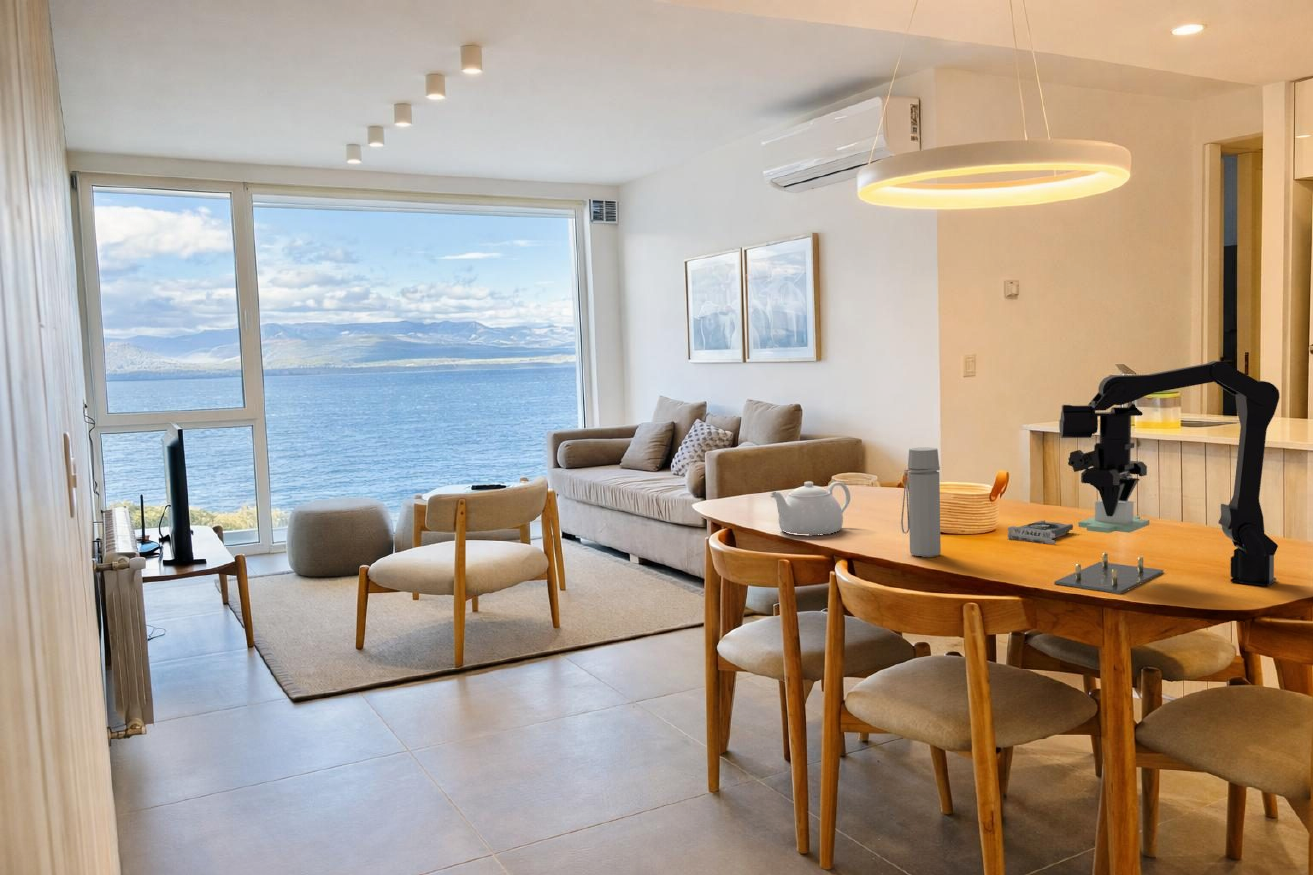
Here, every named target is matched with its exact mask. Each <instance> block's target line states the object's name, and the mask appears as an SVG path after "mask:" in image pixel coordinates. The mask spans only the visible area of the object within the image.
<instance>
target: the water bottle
mask: <svg viewBox="0 0 1313 875" xmlns="http://www.w3.org/2000/svg"><path fill="white" fill-rule="evenodd" d="M938 452H939V451H938V448H937V447H911V448H909V450H908V459H907V460H908V461H907V468H908V469H904V470H903V474H904V477H905V478H904V486H903V487H904V489H903V498H902V510H901V520H900V523H901V524H900V525H901V531H902V534H908V533H909V553H910V555H912V554H913V555H912V556H914V555H915V556H914V557H916V556H922V557H921V558H935V557H938V556H939V555H940V554H941V551H942V549H941V543H942V542H941V504H940V503H941V496H940V494H941V493H940V492H941V491H940V490H941V489H940V484H941V483H940V472H939V471H940V469H941V467H940V459H939V453H938ZM905 498H906V509H907V510H906V511H907V512H906V513H907V531H905V528H904V523H903V522H904V509H905ZM934 556H935V557H934Z"/></svg>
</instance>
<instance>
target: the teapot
mask: <svg viewBox="0 0 1313 875" xmlns="http://www.w3.org/2000/svg"><path fill="white" fill-rule="evenodd" d="M803 484H804V485H803V486H800V487H797V488H795V489H794V490H792V491H790V492H789V493H788V495H787V496H786V498H784V496H783V495H782V493H780V491H777V490H775V491H772V492H771V493H770V496H769V497H770V498H773V499H775V502H776V507H777V513H778V524H779V528H780V530H781V531H782V530H784V531H786V532H790V533H797V534H809V535H818V534H819V535H820V534H829V535H831V534H830V533H833V534H835V533H834V532H836V533H838V532H839V531H840V530H841V529H842V527H843V522H844V515H843V513H844V512H845V510H846V509H847V508H848V506H849V504H850V502H851V492H850V489H849V488H848V487H847V485H846V484H845V483H843V482H842V481H833V482H832V483H830V484H829V486H828V489H826V488H824V487H822V486H819V485H814V482H813V481H805V482H804V483H803ZM836 486H840V487H841V488H842V490H843V492H844V493H845V501H844V504H843V505H842V506H841V505H840V503H839V502H838V500H837V499H836V497H835V496H834V495H833V490H834V488H835V487H836ZM837 531H838V532H837Z"/></svg>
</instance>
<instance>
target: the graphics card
mask: <svg viewBox="0 0 1313 875" xmlns="http://www.w3.org/2000/svg"><path fill="white" fill-rule="evenodd" d="M1073 529H1074V525H1073V524H1072V523H1070V524H1064V523H1061V522H1054V521H1052V522H1051V521H1047V522H1046V520H1039V521H1035V522H1031V523H1027V524H1024V525H1021V526H1020V525H1019V526H1013V525H1012V526H1008V527H1007V540H1010V539H1012V540H1017V541H1023V542H1033V543H1037V544H1047V545H1048V544H1049V545H1055V544H1056V541H1055V540H1053V539H1055V538H1059V537H1063V536H1065V535H1066V534H1067V533H1070V531H1072V530H1073Z"/></svg>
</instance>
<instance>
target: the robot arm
mask: <svg viewBox="0 0 1313 875" xmlns="http://www.w3.org/2000/svg"><path fill="white" fill-rule="evenodd" d="M1209 383H1210V384H1211V383H1215V384H1217V385H1218V386H1219V387H1221V388H1222V389H1223V390H1225V391H1226V392H1229V393H1230V394H1231V395H1233V396H1235V406H1236V407H1235V408H1236V412H1237V418H1238V419H1239V425H1240V430H1239V438H1238V439H1239V440H1238V450H1237V457H1236V458H1237V459H1236V467H1235V468H1236V469H1235V475H1234V476H1235V477H1234V487H1233V495H1232V498H1231V500H1230V501H1229V503H1228V504H1226V503H1221V504H1220V517H1219V518H1220V519H1219V520H1218V522H1217V523H1218V524H1219V525H1220V526H1221V530H1222V532H1223V533H1224V535H1225V536H1226V537H1227V538H1229V539H1230V540H1231V542H1232V544H1233V546H1234V547H1236V548H1235V549H1234V550H1233V555H1232V556H1231V557H1230V582H1231V583H1236V584H1243V585H1244V584H1246V585H1252V586H1260V587H1269V586H1270V585H1272V584H1273V583H1275V582H1277V578H1276V577H1275V576H1274V575H1275V554H1276V552H1277V550H1278V548H1279V545H1278V544H1277V543H1276V542H1275V541H1274V540H1273V539H1271V538H1270V537H1269V535H1267V534H1266V533H1265V523H1264V522H1265V521H1264V515H1263V510H1262V508H1261V503H1260V494H1261V486H1262V485H1261V483H1262V474H1263V466H1264V458H1265V457H1264V456H1265V449H1266V440H1267V431H1268V430H1267V429H1268V427H1269V425H1270V423H1271V421H1272V419H1273V418H1274V416H1275V414H1276V410H1277V408H1278V404H1279V401H1280V398H1281V396H1280V391H1279V389H1278V388H1277V387H1276V386H1275V384H1273V383H1271V382H1269V381H1265V380H1264V381H1263V380H1259V379H1258V380H1257V379H1255V378H1253V377H1251V376H1250V375H1248V374H1246V373H1244V372H1242V371H1240V370H1238V369H1236V368H1235V367H1232V366H1231V365H1230V364H1229V363H1227V362H1226V361H1221V360H1212V361H1209V362H1207V363H1202V364H1196V365H1191V366H1187V367H1181V368H1176V369H1170V370H1165V371H1160V372H1154V373H1150V374H1149V373H1148V374H1117V375H1116V374H1115V375H1114V374H1113V375H1108V376H1106V377H1104V378H1103V379H1102V380H1101V381H1100V383H1099V386H1098V389H1097V390H1098V392H1097V393H1096V394H1095V396H1094V397H1093V398H1092V399H1091V401H1090V402H1088V404H1087V405H1086V404H1085V405H1071V404H1062V405H1061V412H1060V419H1059V420H1058V422H1059V436H1060V439H1091V438H1092V437H1093V435H1095V434H1096V433H1098V430H1099V442H1097V443H1095V444H1094V447H1093V448H1094V449H1093V450H1091V451H1088V452H1085V453H1084V452H1083V451H1082V450H1081V449H1078V450H1074V451H1072V452H1070V453H1069V457H1068V462H1067V465H1068V466H1069V467H1071V468H1072V470H1073V473H1077V472H1081V471H1082V472H1081V473H1080V483H1081V484H1087V485H1088V484H1089V485H1090V486H1093V487H1094V488H1095V489H1096V490H1097V491H1098V493H1099V495H1100V498H1101V499H1102V502H1103V505H1104V508H1105V512H1106V515H1107V516H1113V514H1114V512H1115V509H1116V507H1117V504H1118V501H1119V500H1121V501H1129V499H1130V497H1131V495H1132V493H1133V491H1134V489H1135V487H1136V486H1137V484H1138V483H1139V481H1140V478H1135V477H1133V475H1138V476H1139V477H1145V476H1147V474H1148V473H1147V472H1148V470H1147V469H1148V466H1147V465H1146V463H1144V462H1143V461H1140V460H1131V458H1132V457H1131V456H1132V452H1131V451H1132V449H1134V448H1135V442H1132V417H1134V416H1135V417H1139V416H1141V417H1142V416H1143V414H1144V412H1142V411H1141V410H1140V409H1139V408H1138V407H1136V405H1135V403H1131V402H1134V401H1137V400H1141V399H1142V398H1145V397H1147V396H1149V395H1151V394H1154V393H1160V392H1166V391H1171V390H1177V389H1183V388H1187V387H1193V386H1199V385H1203V384H1209ZM1125 404H1126V405H1127V404H1129V405H1128V406H1125V407H1122V406H1123V405H1125ZM1114 406H1115V407H1114ZM1116 406H1117V407H1116ZM1119 406H1121V407H1119ZM1109 409H1110V411H1108V410H1109ZM1106 410H1107V411H1106ZM1098 411H1102V412H1098ZM1103 411H1104V412H1103ZM1098 418H1099V419H1098ZM1101 499H1100V500H1101Z"/></svg>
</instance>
